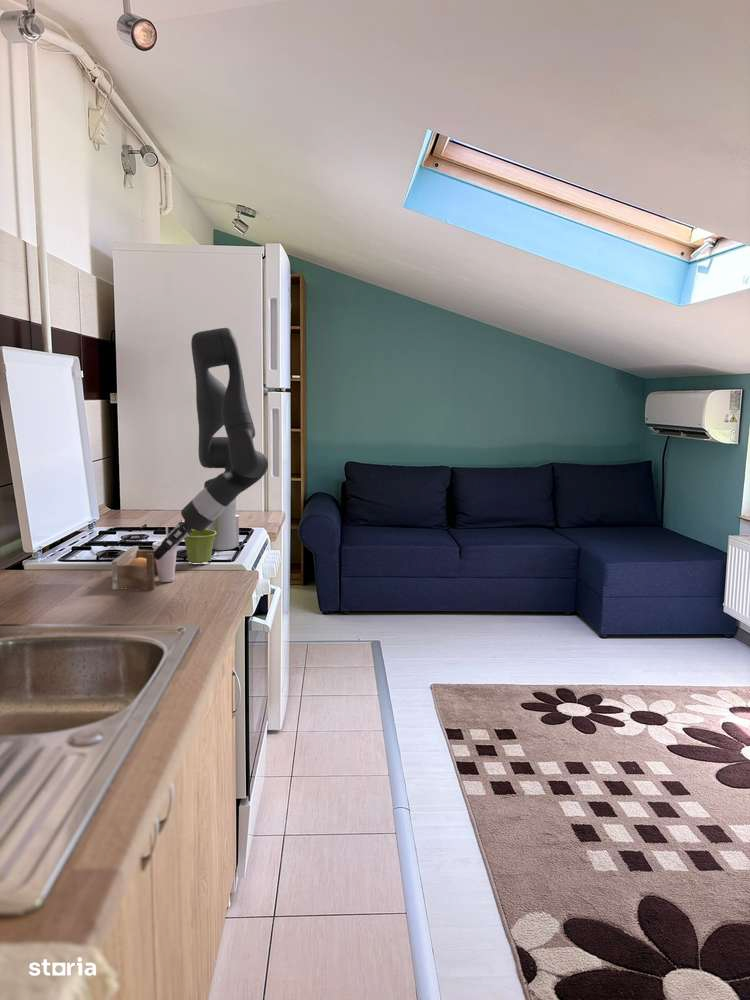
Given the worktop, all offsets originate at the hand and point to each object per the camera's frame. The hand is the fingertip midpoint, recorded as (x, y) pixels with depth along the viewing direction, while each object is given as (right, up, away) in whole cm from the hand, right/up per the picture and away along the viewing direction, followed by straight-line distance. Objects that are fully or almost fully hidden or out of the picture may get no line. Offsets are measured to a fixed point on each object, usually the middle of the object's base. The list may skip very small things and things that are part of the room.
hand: (159, 553), depth 205 cm
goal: (-4, -7, +1) cm, 8 cm away
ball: (-5, -4, +1) cm, 6 cm away
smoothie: (+2, -7, +1) cm, 7 cm away
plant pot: (+6, -4, +20) cm, 21 cm away
